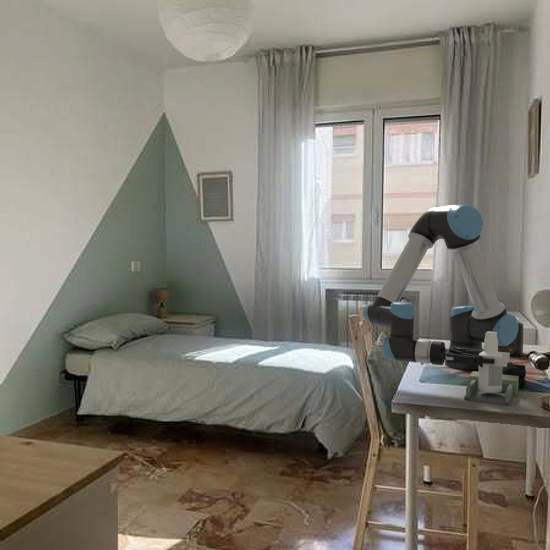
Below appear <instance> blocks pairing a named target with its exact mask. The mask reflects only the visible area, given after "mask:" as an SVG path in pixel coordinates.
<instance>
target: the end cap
mask: <svg viewBox="0 0 550 550" xmlns="http://www.w3.org/2000/svg"><path fill="white" fill-rule="evenodd" d="M502 374H504V375H513V376H519V383H518V388H520V389H519V390H526V386H527V385H526V383H527V382H526V381H527V380H526V376H527V368H526V365H525V364H514V363H513V362H512V361H510V362H507V367H502Z"/></svg>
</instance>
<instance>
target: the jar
mask: <svg viewBox="0 0 550 550" xmlns="http://www.w3.org/2000/svg"><path fill="white" fill-rule="evenodd" d="M516 319H517V321H518V333H517V335H516V337H515V339H514V340H513V342H511V343H510V344H509V345H507V346H498V352H506V353H510V356H521V355H520V354H522V355H523V354H524V324H523V323H522V322H520V318H519V317H516Z"/></svg>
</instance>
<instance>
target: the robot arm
mask: <svg viewBox="0 0 550 550" xmlns="http://www.w3.org/2000/svg"><path fill="white" fill-rule="evenodd" d="M483 226H484V220H483V216H482V214H481V213H480V211H479V210H478V209H477V208H476V207H474V206H472V205H469V204H463V203H459V204H453V205H450V204H449V205H438V206H434V207H431V208H429V209H428V210H426V211H425V212H424V213H423V214H421V216H420V217H419V218H418V219H417V221H416V222H415V223H414V224H413V226H412V228H411V230H410V231H409V233H408V234H407V237H408V240H407V242H406V244H405V246H404V247H403V250H402V252H401V253H400V255H399V256H398V259H397V260H396V262H395V264H394V265H393V267H392V269H391V271H390V272H389V274H388V276H387V278H386V280H385V282H384V283H383V286H382V287H381V289H380V291H379V292H378V294H377V296H376V298H375V299H374V302H370V303H367V304H365V306H364V308H363V310H362V317H363V318H364V319H363V320H365V322H366V323H368V324H371V325H372V326H373V325H374V326H378V327H383V328H387V329H389V336H386V337H385V338H384V339H383V342H382V355H383V357H384V358H385V359H386V360H393V361H396V362H405V363H407V362H409V363H418V364H420V365H421V366H423V365H424V364H428V365H429V364H431V365H433V366H443V365H444V364H445V366H446V367H450V368H453V369H459V370H460V369H461V370H479V365H480V367H483V365H492V366H502V368H503V367H507V363H508V362H511V361H510V360H511V358H510V356H511V355H510V353H506V352H499V353H500V354H502V356H503V357H497V356H486V355H484V358H483V356H479V353H481V352H483V351H484V347H483V343H484V339H485V333H486V332H488V331H491V332H497V339H498V346H507V345H509V344H510V343H511V342H513V340H514V339H515V337H516V335H517V333H518V321H517V319H516V318H517V317H516V316H515V315H513V314H512V313H508V311H507V308H506V306H505V304H504V303H503V302H500V301H499V300H498V297H497V293H496V291H495V288H494V285H493V282H492V279H491V277H490V274H489V271H488V268H487V265H486V262H485V260H484V256H483V253H482V251H481V248H480V245H479V241H480V239H481V237H482V236H481V233H482V231H483ZM438 240H439V241H440V240H443V241H444V244H445V246H446V249H447V250H449V251H452V252H453V256H454V258H455V260H456V263H457V265H458V269H459V271H460V274H461V276H462V279H463V282H464V285H465V287H466V291H467V293H468V296H469V298H470V301H471V303H472V305H465V306H462V305H461V306H454V307H452V308H451V309H450V316H449V341H450V343H449V347H448V348H446V343H445V342H444V341H438V340H433V341H431V340H429V339H416V338H415V339H414V322H415V321H414V320H415V313H414V305H413V303H412V302H409V301H408V302H407V301H400V300H401V298H402V297H403V295H404V293H405V291H406V290H407V287H408V286H409V284H410V282H411V281H412V279H413V277H414V276H415V274H416V273H417V272H416V271H417V270H418V268H419V266H420V264H421V262H422V261H423V259H424V257H425V255H426V253H427V252H428V249H432V248H433V247H434V245H435V243H437V242H438Z"/></svg>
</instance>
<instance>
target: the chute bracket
mask: <svg viewBox="0 0 550 550" xmlns="http://www.w3.org/2000/svg"><path fill="white" fill-rule="evenodd" d="M478 375H479V371H476V370H475V371H472V372H471V373H470V375H469V380H468V381H469V382H468V383H469V384H468V385H467V387H466V388H465V395H464V397H463V400H464V399H466V400H465V401H471V400H472V401H473V402H480V403H487V404H495V405H502V406H512V403H513V400H514V398H515V396H517V394H518V392H519V389H518V383H519V376H513V375H504V374H502V391H501V392H499V393H488V392H483V391H480V390H479V389H478ZM472 401H471V402H472Z"/></svg>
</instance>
